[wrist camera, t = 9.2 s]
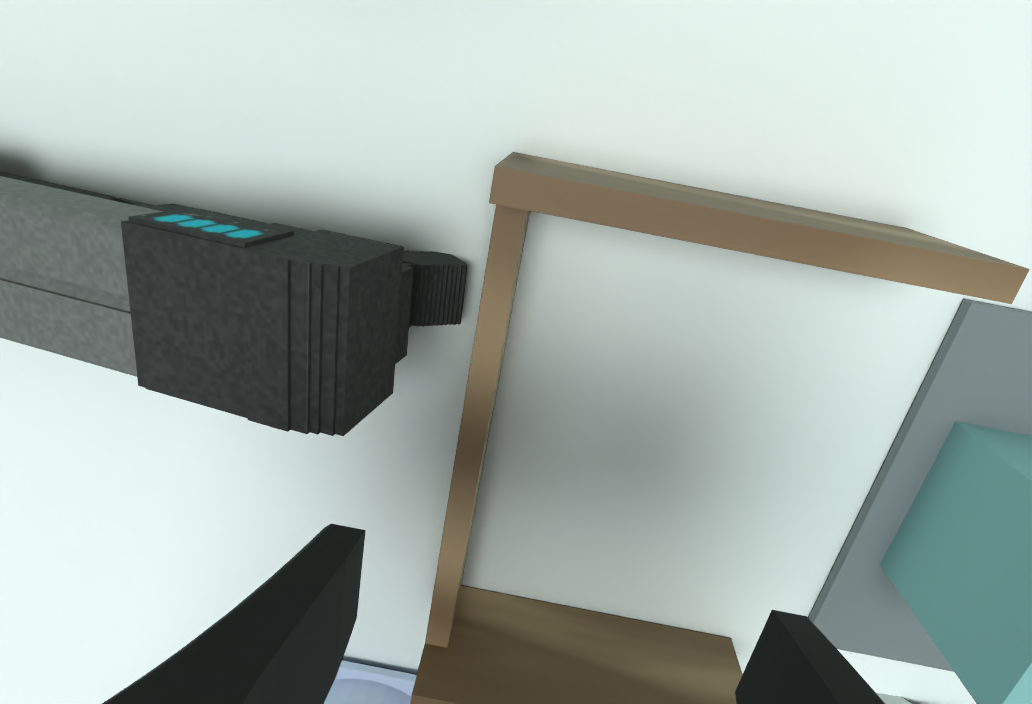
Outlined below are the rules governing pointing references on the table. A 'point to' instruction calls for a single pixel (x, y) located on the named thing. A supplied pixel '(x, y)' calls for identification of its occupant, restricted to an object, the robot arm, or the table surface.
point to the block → (973, 560)
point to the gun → (217, 302)
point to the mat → (939, 403)
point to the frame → (459, 609)
